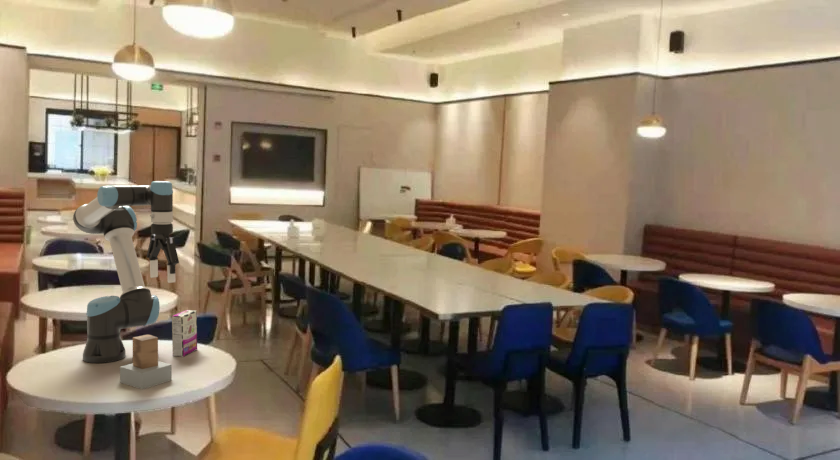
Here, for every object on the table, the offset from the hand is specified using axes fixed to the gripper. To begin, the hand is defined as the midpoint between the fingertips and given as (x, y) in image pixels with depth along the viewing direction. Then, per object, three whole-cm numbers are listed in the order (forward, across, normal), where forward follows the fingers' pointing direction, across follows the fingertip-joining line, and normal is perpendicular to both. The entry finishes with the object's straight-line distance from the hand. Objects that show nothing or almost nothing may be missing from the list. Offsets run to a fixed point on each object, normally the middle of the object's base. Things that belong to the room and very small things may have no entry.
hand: (162, 279), depth 257 cm
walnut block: (+27, +13, -13) cm, 33 cm away
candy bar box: (+33, -10, +14) cm, 37 cm away
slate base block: (+33, +13, -13) cm, 38 cm away
